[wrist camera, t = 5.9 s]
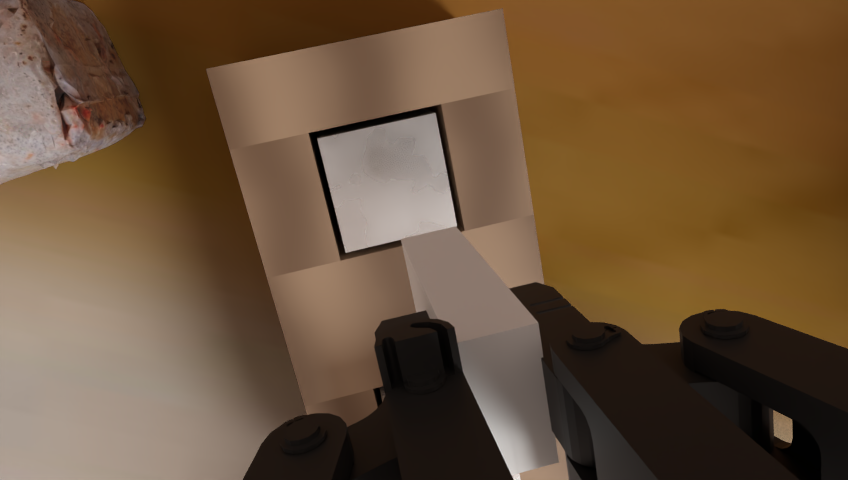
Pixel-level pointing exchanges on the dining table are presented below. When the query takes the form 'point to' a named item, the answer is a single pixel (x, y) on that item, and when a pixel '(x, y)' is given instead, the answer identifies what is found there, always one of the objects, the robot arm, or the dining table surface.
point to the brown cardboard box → (312, 204)
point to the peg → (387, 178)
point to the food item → (59, 86)
